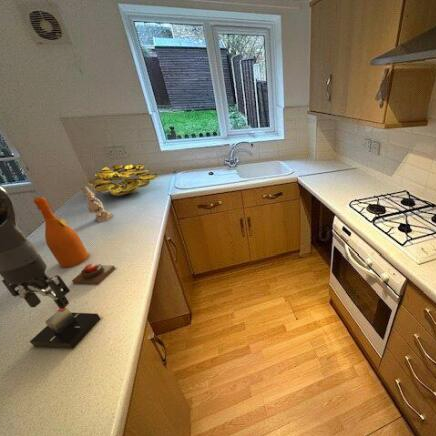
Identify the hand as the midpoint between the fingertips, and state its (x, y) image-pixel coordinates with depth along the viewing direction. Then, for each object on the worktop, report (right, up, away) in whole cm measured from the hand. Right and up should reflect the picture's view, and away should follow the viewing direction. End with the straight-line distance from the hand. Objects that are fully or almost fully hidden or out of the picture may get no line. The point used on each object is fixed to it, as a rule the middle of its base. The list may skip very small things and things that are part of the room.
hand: (50, 305), depth 67 cm
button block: (-10, +1, +27) cm, 29 cm away
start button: (-10, +5, +26) cm, 28 cm away
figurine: (-40, +24, +70) cm, 84 cm away
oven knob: (0, -8, +4) cm, 8 cm away
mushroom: (-51, +43, +107) cm, 126 cm away
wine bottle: (-26, +6, +36) cm, 45 cm away
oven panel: (+1, -10, +5) cm, 12 cm away
